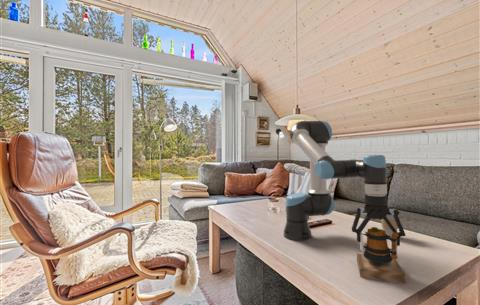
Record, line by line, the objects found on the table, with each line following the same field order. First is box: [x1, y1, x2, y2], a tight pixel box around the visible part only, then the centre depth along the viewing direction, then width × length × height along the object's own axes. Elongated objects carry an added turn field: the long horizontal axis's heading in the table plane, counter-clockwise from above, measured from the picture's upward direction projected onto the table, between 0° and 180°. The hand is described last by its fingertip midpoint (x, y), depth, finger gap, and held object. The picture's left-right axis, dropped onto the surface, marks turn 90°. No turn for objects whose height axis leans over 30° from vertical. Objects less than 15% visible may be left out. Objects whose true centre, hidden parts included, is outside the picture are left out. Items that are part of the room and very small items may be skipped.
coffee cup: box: [380, 206, 400, 238], centre depth 125 cm, size 9×9×15 cm
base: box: [356, 253, 407, 284], centre depth 89 cm, size 14×14×3 cm
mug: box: [362, 226, 399, 263], centre depth 89 cm, size 13×10×12 cm
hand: (378, 252), depth 89 cm, fingers closed on mug, 10 cm apart
